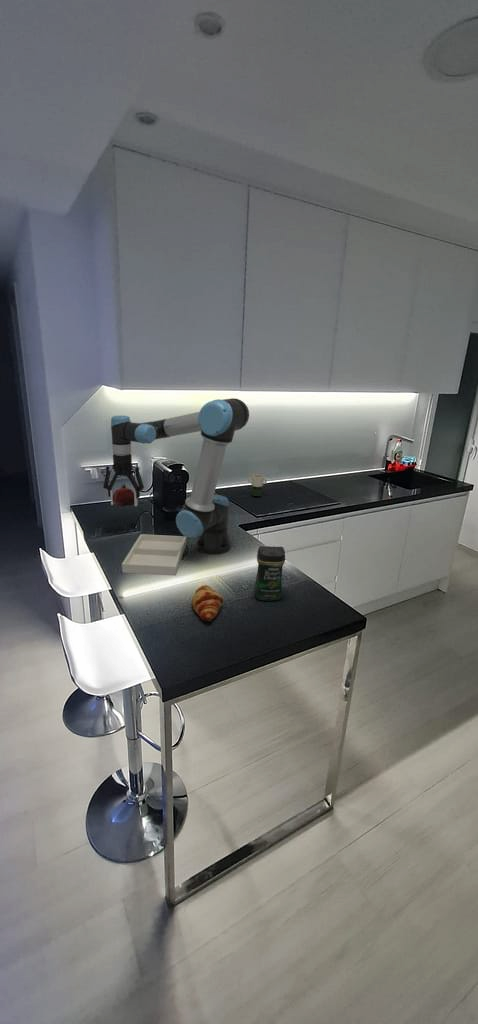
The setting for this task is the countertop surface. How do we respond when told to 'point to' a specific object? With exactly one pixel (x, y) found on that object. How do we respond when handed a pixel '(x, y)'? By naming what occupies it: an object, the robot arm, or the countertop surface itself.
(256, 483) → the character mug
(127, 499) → the fruit
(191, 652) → the countertop surface
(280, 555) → the coffee jar
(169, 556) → the fruit holder
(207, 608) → the croissant
